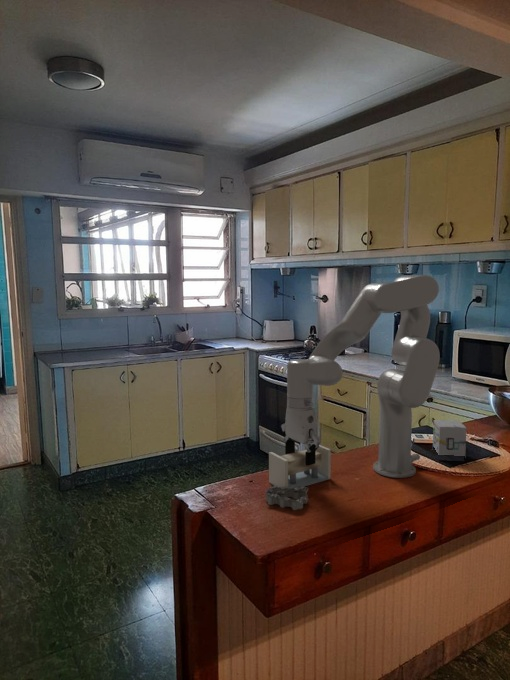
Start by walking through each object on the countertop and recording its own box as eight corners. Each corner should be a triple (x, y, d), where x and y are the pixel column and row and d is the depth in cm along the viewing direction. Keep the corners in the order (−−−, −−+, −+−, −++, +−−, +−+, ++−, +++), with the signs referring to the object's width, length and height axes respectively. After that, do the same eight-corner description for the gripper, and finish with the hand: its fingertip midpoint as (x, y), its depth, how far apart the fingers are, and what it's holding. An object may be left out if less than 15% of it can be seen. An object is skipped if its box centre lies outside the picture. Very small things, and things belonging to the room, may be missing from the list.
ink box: (432, 452, 161) (433, 419, 160) (458, 453, 160) (459, 419, 159) (438, 461, 153) (439, 426, 152) (465, 462, 152) (467, 427, 150)
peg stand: (313, 470, 146) (313, 442, 145) (330, 478, 140) (330, 449, 139) (269, 482, 138) (268, 452, 137) (285, 492, 131) (285, 461, 130)
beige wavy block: (310, 461, 144) (310, 448, 143) (321, 466, 139) (321, 453, 139) (278, 469, 137) (278, 456, 137) (288, 475, 133) (288, 461, 132)
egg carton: (310, 501, 126) (310, 487, 125) (299, 513, 119) (299, 498, 119) (275, 493, 131) (275, 479, 130) (262, 504, 124) (262, 489, 124)
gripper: (329, 406, 131) (329, 466, 133) (292, 394, 145) (292, 448, 147) (308, 410, 127) (308, 471, 129) (272, 398, 141) (272, 453, 143)
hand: (300, 459), depth 138 cm, fingers open, 9 cm apart
